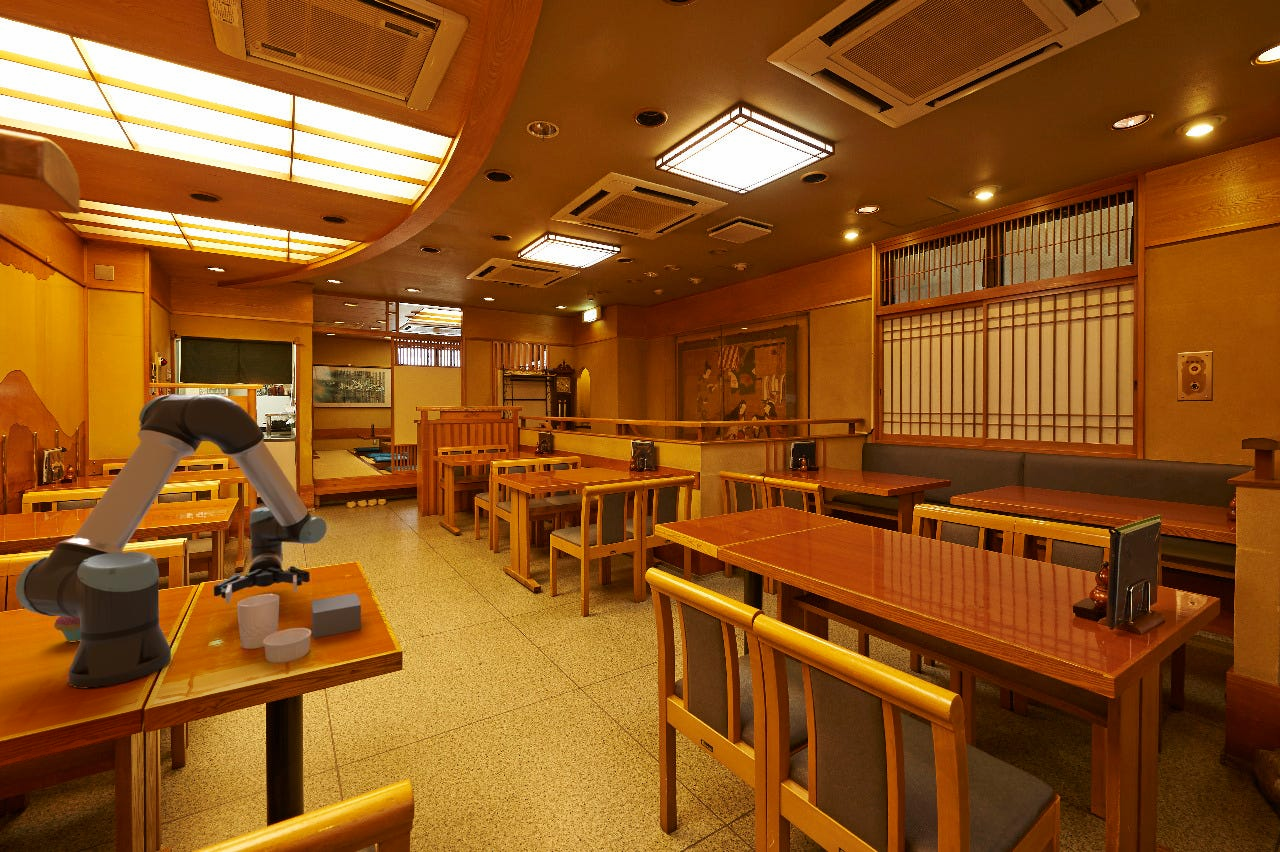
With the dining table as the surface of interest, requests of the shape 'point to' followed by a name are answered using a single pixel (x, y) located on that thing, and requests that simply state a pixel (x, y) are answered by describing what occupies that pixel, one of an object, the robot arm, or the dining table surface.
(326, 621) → the gray rectangular block
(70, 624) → the cupcake
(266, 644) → the ramekin
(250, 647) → the white cup
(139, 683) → the dining table surface
